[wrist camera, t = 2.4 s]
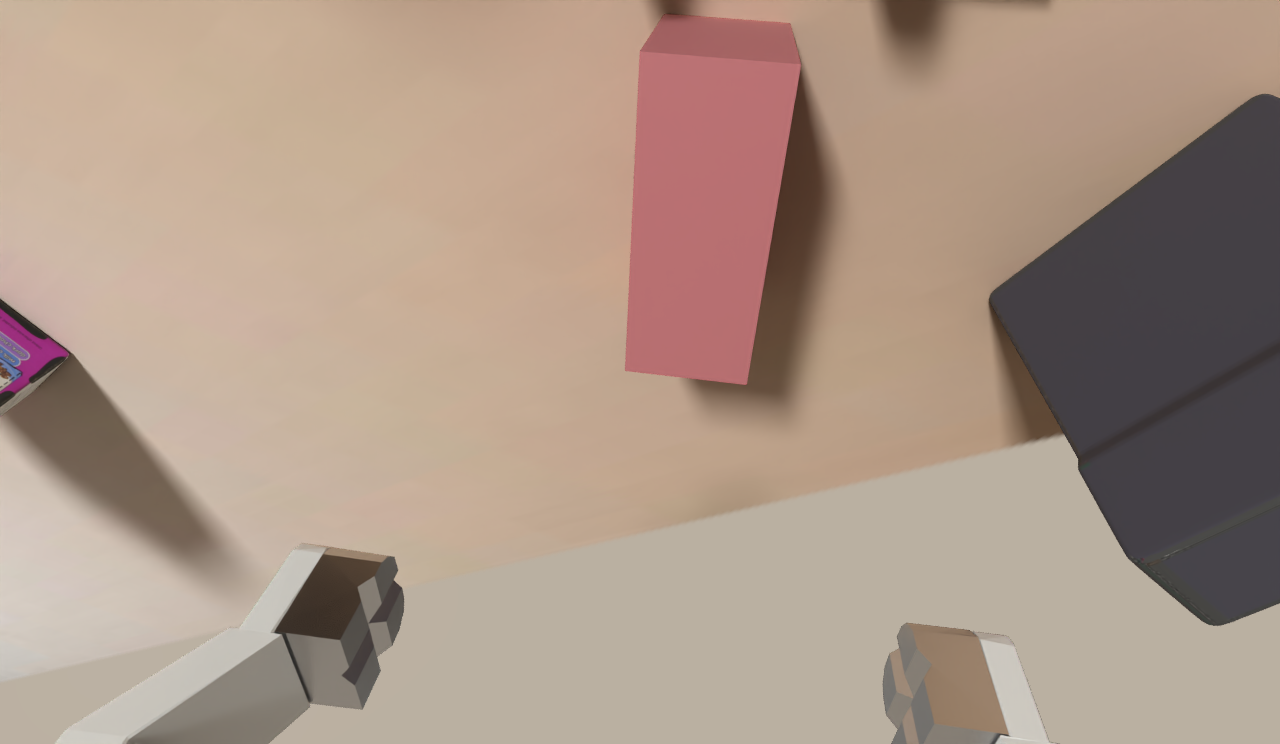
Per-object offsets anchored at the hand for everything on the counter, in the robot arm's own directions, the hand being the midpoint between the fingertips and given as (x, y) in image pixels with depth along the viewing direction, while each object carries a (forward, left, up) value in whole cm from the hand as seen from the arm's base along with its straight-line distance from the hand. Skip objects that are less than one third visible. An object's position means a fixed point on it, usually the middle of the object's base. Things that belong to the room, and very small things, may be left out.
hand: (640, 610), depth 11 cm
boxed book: (0, 0, -21) cm, 21 cm away
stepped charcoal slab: (-17, +1, -21) cm, 27 cm away
